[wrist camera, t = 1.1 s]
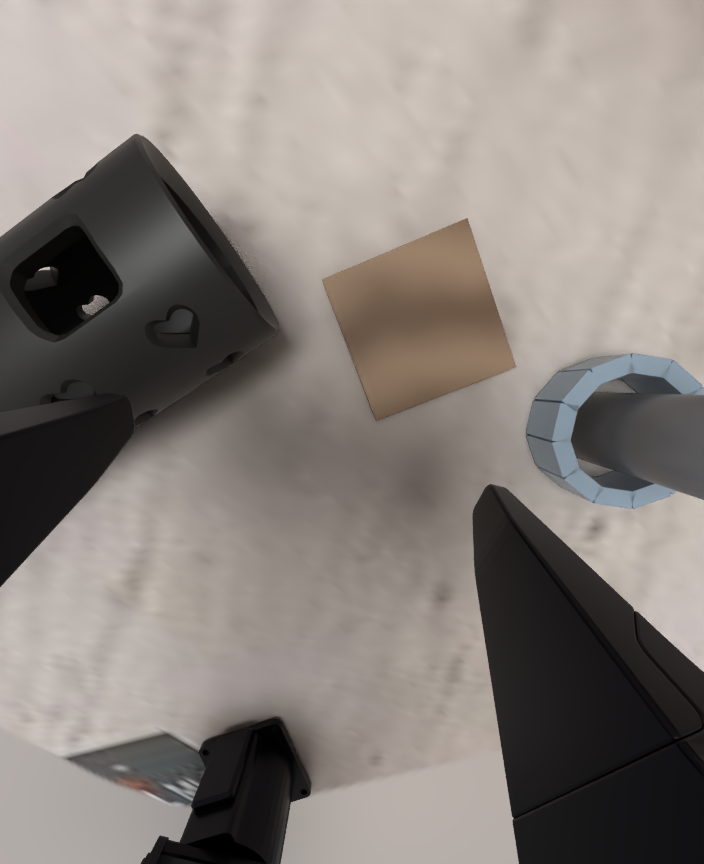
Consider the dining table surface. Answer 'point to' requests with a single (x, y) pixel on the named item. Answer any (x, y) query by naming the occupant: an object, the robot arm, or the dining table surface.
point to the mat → (420, 320)
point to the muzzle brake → (123, 291)
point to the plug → (645, 437)
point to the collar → (559, 412)
